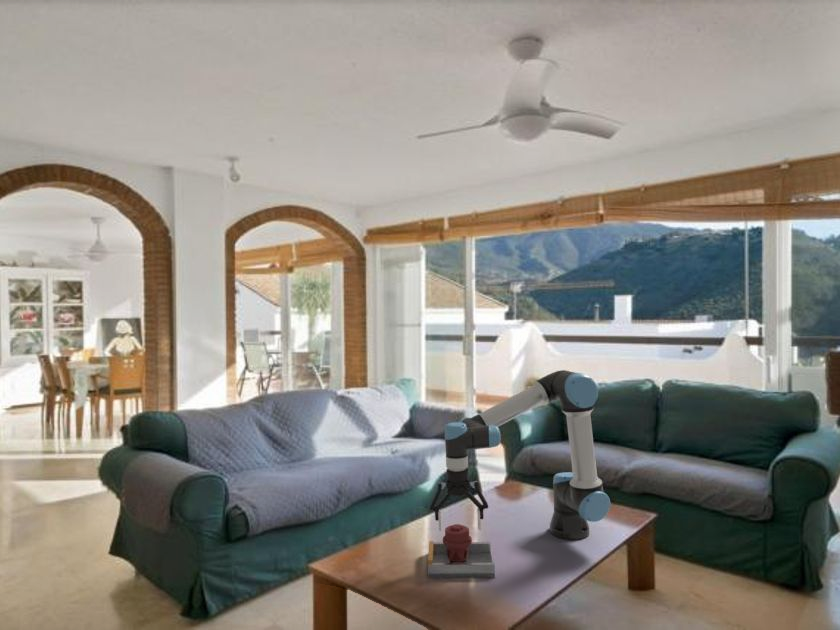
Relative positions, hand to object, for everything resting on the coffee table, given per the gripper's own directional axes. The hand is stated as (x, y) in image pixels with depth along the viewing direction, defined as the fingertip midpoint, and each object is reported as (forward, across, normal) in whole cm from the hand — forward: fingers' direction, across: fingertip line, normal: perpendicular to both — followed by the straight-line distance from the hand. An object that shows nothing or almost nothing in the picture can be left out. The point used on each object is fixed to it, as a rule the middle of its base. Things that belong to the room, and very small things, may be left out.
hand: (459, 528), depth 197 cm
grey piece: (+13, 0, 0) cm, 13 cm away
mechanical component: (+12, +1, 0) cm, 12 cm away
